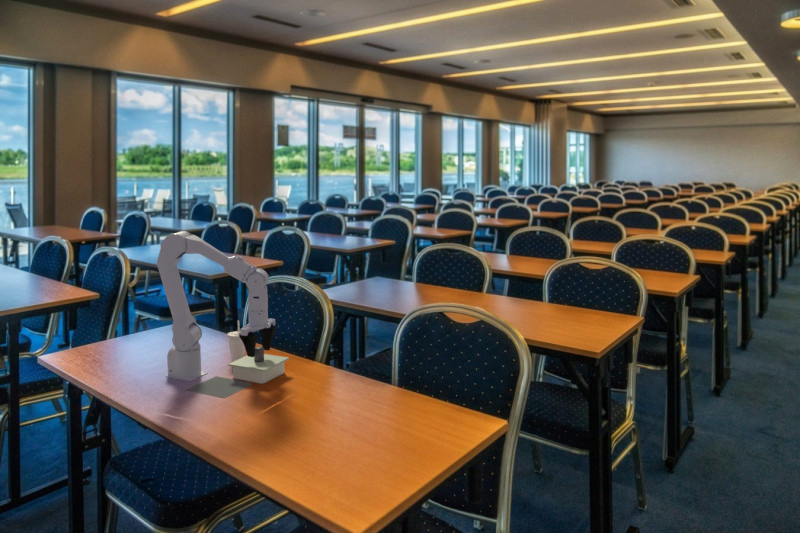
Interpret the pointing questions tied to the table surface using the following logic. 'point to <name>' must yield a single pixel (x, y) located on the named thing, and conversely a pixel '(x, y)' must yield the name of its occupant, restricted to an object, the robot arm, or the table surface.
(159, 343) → the table surface
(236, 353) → the smoothie
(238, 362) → the lid
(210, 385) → the mat
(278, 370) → the dish
